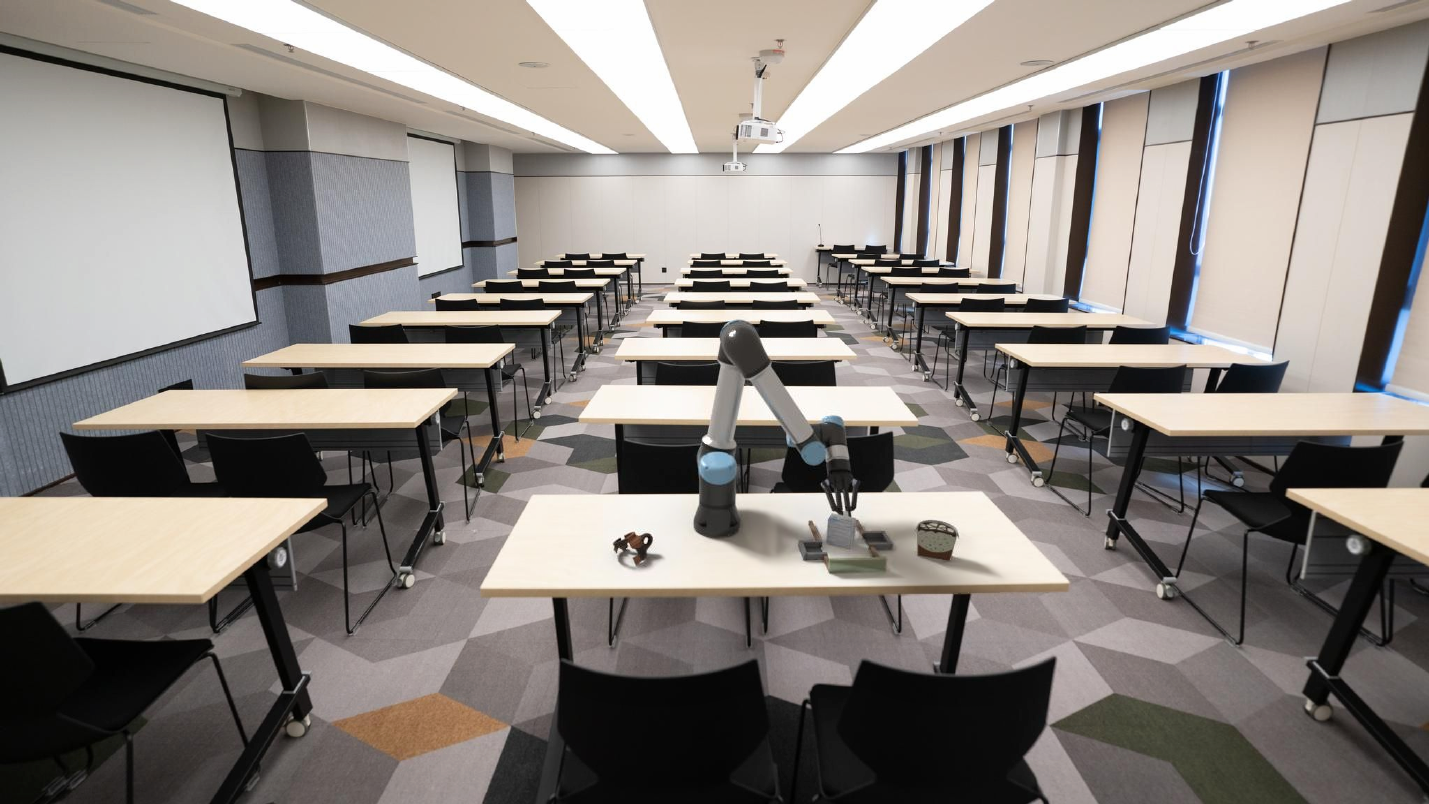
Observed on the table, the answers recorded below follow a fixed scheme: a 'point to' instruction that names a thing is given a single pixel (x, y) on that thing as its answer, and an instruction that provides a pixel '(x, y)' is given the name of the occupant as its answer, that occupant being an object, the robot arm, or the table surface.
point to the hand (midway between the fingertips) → (847, 532)
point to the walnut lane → (852, 564)
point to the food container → (936, 539)
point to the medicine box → (841, 530)
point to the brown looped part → (635, 545)
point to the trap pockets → (814, 552)
